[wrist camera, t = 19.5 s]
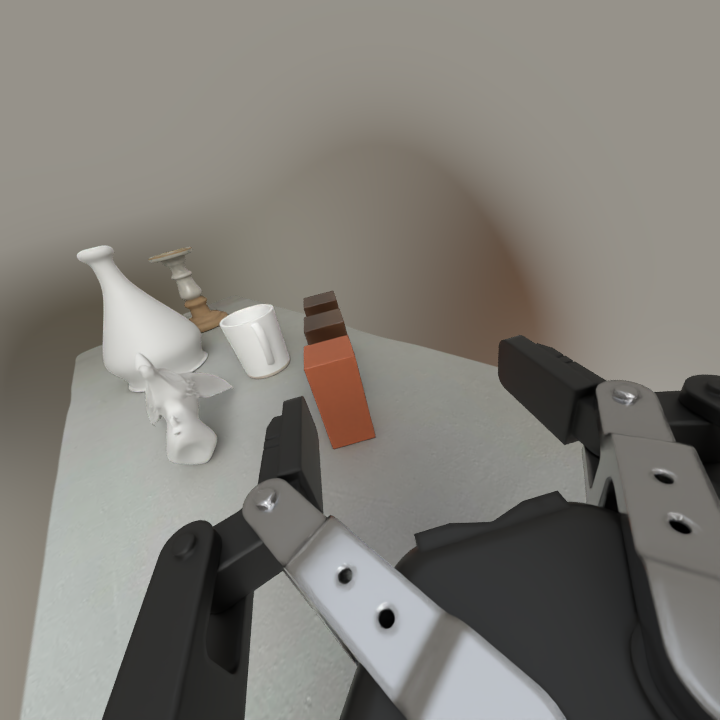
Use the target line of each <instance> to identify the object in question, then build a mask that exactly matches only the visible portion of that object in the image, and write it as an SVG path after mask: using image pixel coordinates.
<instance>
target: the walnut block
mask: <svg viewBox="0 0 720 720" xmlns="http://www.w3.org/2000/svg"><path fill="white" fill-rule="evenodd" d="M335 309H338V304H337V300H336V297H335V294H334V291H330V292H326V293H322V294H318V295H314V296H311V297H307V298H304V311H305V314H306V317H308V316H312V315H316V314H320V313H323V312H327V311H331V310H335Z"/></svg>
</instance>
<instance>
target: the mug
mask: <svg viewBox="0 0 720 720" xmlns="http://www.w3.org/2000/svg"><path fill="white" fill-rule="evenodd" d="M220 327H221V329H222V330H223V332H224V334H225V336H226V338H227V339H228V341H229V343H230V345H231V347H232V348H233V350H234V352H235V354H236V356H237V357H238V359H239V361H240V363H241V365H242V366H243V368H244V370H245V372H246V373H247V375H248V376H249V377H250V378H253V379H262V378H267V377H270V376H273V375H275V374H277V373H279V372H281V371H282V370H283V369H285V368H286V367H287V366H288V364H289V362H290V357H289V354H288V351H287V348H286V345H285V342H284V339H283V336H282V332H281V329H280V326H279V323H278V320H277V317H276V314H275V311H274V308H273V306H272V305H270V304H260V305H255V306H250V307H247V308H244V309H241V310H238V311H236V312H234V313H232V314H230V315H228V316H226V317H225V318H224V319H222V320H221V322H220Z"/></svg>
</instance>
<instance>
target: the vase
mask: <svg viewBox="0 0 720 720" xmlns="http://www.w3.org/2000/svg"><path fill="white" fill-rule="evenodd" d="M113 255H114V250H113V248H112V247H110V246H99V247H94V248H90V249H87V250H83V251H81V252H79V253H78V254H77V258H78V259H79V260H80V261H81V262H84V263H86V264H88V265H90V266H91V267H92V269H93V270H94V272H95V274H96V276H97V278H98V280H99V282H100V284H101V288H102V292H103V301H104V324H103V325H104V326H103V361H104V365H105V367H106V369H107V370H108V371H109V372H110V373H112V374H113V375H115V376H117V377H119V378H121V379H123V380H125V381H127V382H128V383H129V389H130V390H131V391H133V392H144V391H146V388H147V382H146V380H145V379H144V378H143V377H142V376H141V374H140V373H139V372H137V370H136V368H135V355H136V354H137V353H141V354H143V355H144V356H145V357H146V358H147V359H148V360H149V361H150V362H151V363H152V364H153V366H154V367H155V368H156V369H158V368H165V369H168V370H171V371H173V372H175V373H191V372H193V371H194V370H196V369H197V368H198V367H199V366H201V365H202V364H203V363H204V361H205V360H206V358H207V356H208V354H207V352H206V351H203V350H202V347H201V332H200V330H199V328H198V327H197V326H196V325H195V324H194V323H193V322H191V321H190V320H188V319H187V318H185V317H184V316H182V315H181V314H179V313H177V312H176V311H174V310H172V309H171V308H169V307H168V306H166V305H164V304H163V303H161V302H159V301H157V300H156V299H154V298H153V297H151V296H150V295H148V294H147V293H145V292H143V291H142V290H141V289H139V288H138V287H136V286H135V285H134V284H133V283H131V282H130V281H129V280H128V279H127V278H126V277H125V276H124V275H123V274H122V273H121V271H120V270H119V269H118V267H117V266H116V265H115V263H114V261H113Z"/></svg>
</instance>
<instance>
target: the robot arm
mask: <svg viewBox="0 0 720 720" xmlns="http://www.w3.org/2000/svg"><path fill="white" fill-rule="evenodd" d="M498 376H499V379H500V382H501V384H502V385H503V387H504V388H505V389H506V390H507V391H508V392H509V393H510V394H511V395H513V396H514V397H515V398H516V399H517V400H518V401H519V402H520V403H521V404H522V405H523V406H524V407H525V408H526V409H527V410H528V411H529V412H530V413H531V414H533V415H534V416H535V417H536V418H537V419H538V420H539V421H540V422H541V423H542V424H543V425H544V426H545V427H546V428H547V429H548V430H549V431H550V432H551V433H553V434H554V435H555V436H556V437H557V438H558V439H559V440H560V441H561V442H562V443H563V444H564V445H566V444H569V443H573V442H576V441H580V442H581V443H582V444H583V447H582V460H583V469H584V479H585V488H586V503H578V502H567V501H566V500H565V499H564V498H563V496H562V495H561V494H560V493H559V492H558V491H555V492H551V493H548V494H545V495H541V496H538V497H535V498H532V499H528V500H525V501H522V502H521V503H519V504H518V505H516V506H515V507H513V508H512V509H510V510H509V511H508V512H506V513H505V514H503V515H502V516H500V517H499V518H497V519H496V520H494V521H491V522H476V523H449V524H446V525H443V526H439V527H436V528H433V529H429V530H426V531H423V532H420V533H416V534H414V536H415V540H416V545H417V546H416V547H415V548H413V549H412V550H410V551H409V552H408V553H407V554H406V555H405V556H404V557H403V558H402V559H401V560H400V561H399V562H398V563H397V565H396V566H395V568H394V567H393V566H391V565H390V564H389V563H388V562H387V561H386V560H385V559H383V558H382V557H381V556H380V555H379V554H378V553H376V552H375V551H374V550H373V549H372V548H371V547H369V546H368V545H367V544H366V543H365V542H364V541H362V540H361V539H360V538H359V537H358V536H357V535H356V534H354V533H353V532H352V531H351V530H350V529H349V528H347V527H346V526H345V525H344V524H343V523H342V522H340V521H339V520H338V519H337V518H335V517H334V516H332V515H330V516H329V517H326V516H324V515H323V500H322V484H321V469H320V453H319V439H318V433H317V429H316V426H315V423H314V421H313V418H312V416H311V413H310V411H309V408H308V406H307V403H306V401H305V399H304V397H303V396H301V397H297V398H293V399H290V400H286V401H284V402H283V411H282V415H281V416H277V417H274V418H273V419H272V421H271V422H270V424H269V425H268V427H267V430H266V436H265V442H264V450H263V455H262V461H261V468H260V474H259V481H258V485H257V486H256V487H255V488H253V489H252V490H251V492H250V493H249V494H248V496H247V497H246V499H245V501H244V504H243V508H242V509H241V510H239V511H238V512H237V513H235V514H233V515H232V516H230V517H228V518H227V519H225V520H223V521H222V522H220V523H218V524H217V525H215V526H212V525H211V524H210V523H209V522H207V521H204V520H199V521H194V522H191V523H189V524H187V525H185V526H183V527H182V528H181V529H179V530H178V531H177V532H176V533H174V534H173V535H172V536H171V538H170V539H169V540H168V541H167V542H166V544H165V545H164V547H163V549H162V550H161V552H160V555H159V557H158V560H157V563H156V566H155V569H154V572H153V575H152V577H151V580H150V583H149V586H148V589H147V592H146V595H145V598H144V600H143V603H142V606H141V609H140V612H139V615H138V618H137V620H136V623H135V626H134V629H133V632H132V635H131V638H130V641H129V643H128V646H127V649H126V652H125V655H124V658H123V661H122V663H121V666H120V669H119V672H118V675H117V678H116V681H115V684H114V686H113V689H112V692H111V695H110V698H109V701H108V704H107V706H106V709H105V712H104V715H103V718H102V720H244V719H245V705H246V691H247V678H248V664H249V651H250V637H251V623H252V610H253V596H254V590H256V589H257V588H259V587H260V586H261V585H263V584H264V583H266V582H267V581H269V580H270V579H272V578H273V577H274V576H276V575H277V574H279V573H280V572H282V571H283V572H284V573H285V575H286V576H287V577H288V578H289V580H290V581H291V582H292V583H293V585H294V586H295V587H296V589H297V590H298V591H299V592H300V594H301V595H302V596H303V597H304V599H305V600H306V601H307V603H308V604H309V605H310V606H311V608H312V609H313V610H314V612H315V613H316V614H317V615H318V617H319V618H320V619H321V621H322V622H323V623H324V625H325V626H326V627H327V629H328V630H329V631H330V633H331V634H332V635H333V636H334V638H335V639H336V640H337V642H338V643H339V644H340V645H341V647H342V648H343V649H344V651H345V652H346V653H347V654H348V656H349V657H350V658H351V660H352V661H353V662H354V663H355V665H356V666H357V669H356V672H355V675H354V678H353V681H352V684H351V687H350V690H349V693H348V696H347V699H346V702H345V705H344V708H343V711H342V713H341V716H340V719H339V720H720V376H717V375H696V376H692V377H689V378H687V379H686V380H685V383H684V385H683V387H682V390H681V391H667V392H653V391H652V390H650V389H649V388H647V387H645V386H643V385H640V384H637V383H634V382H630V381H623V380H611V381H606V380H604V379H603V378H601V377H599V376H598V375H596V374H594V373H593V372H591V371H589V370H588V369H586V368H585V367H583V366H581V365H580V364H578V363H576V362H573V360H571V359H569V358H568V357H566V356H563V354H561V353H560V352H558V351H557V350H555V349H553V348H551V347H548V346H545V345H541V344H538V343H537V344H535V343H533V342H532V341H530V340H529V339H527V338H525V337H524V336H522V335H519V336H516V337H512V338H509V339H505V340H502V341H501V342H500V343H499V357H498Z"/></svg>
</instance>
